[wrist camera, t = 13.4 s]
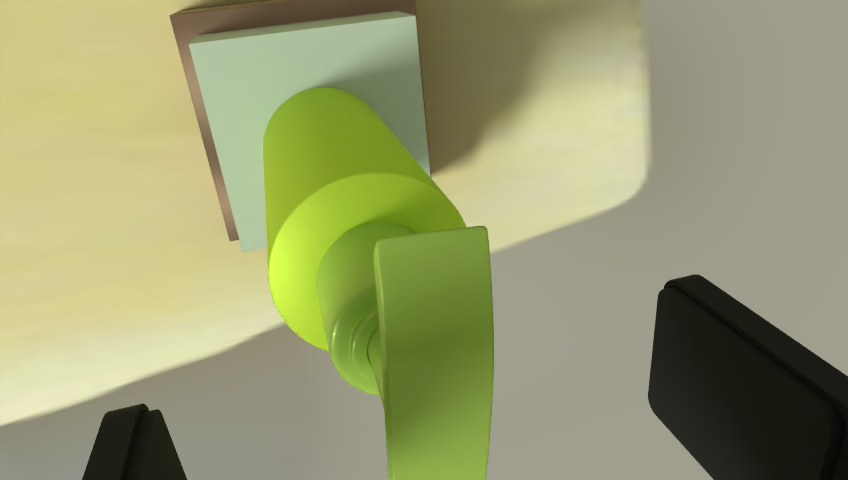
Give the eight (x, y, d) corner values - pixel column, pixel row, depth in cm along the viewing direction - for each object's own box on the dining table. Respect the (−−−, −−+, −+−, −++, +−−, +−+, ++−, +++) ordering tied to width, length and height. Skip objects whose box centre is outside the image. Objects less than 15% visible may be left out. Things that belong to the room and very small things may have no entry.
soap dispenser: (381, 60, 27) (613, 222, 10) (388, 199, 30) (575, 519, 12) (251, 67, 26) (242, 272, 8) (271, 212, 29) (297, 590, 11)
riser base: (179, 10, 31) (169, 15, 28) (396, -14, 33) (413, -13, 30) (232, 215, 36) (229, 241, 33) (417, 181, 39) (433, 202, 35)
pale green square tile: (196, 34, 28) (188, 44, 25) (396, 10, 30) (415, 15, 27) (243, 221, 33) (242, 252, 29) (415, 190, 35) (434, 215, 31)
